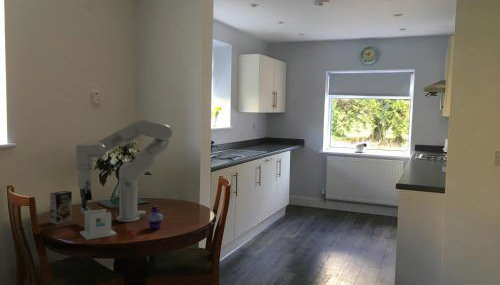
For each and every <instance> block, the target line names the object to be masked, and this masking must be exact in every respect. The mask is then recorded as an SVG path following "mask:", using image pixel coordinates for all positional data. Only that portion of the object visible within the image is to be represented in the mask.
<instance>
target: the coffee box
mask: <svg viewBox="0 0 500 285" xmlns="http://www.w3.org/2000/svg"><path fill="white" fill-rule="evenodd" d="M72 193H73V192H72V191H69V190H67V191H66V190H63V191H62V190H60V191H56V192H50V193H49V220H50V221H49V222H50V224H54V225H59V224H60V225H61V224H63V223H69V222H72V221H73V201H72V200H73V199H72V198H73V197H72V196H73V194H72Z"/></svg>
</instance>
